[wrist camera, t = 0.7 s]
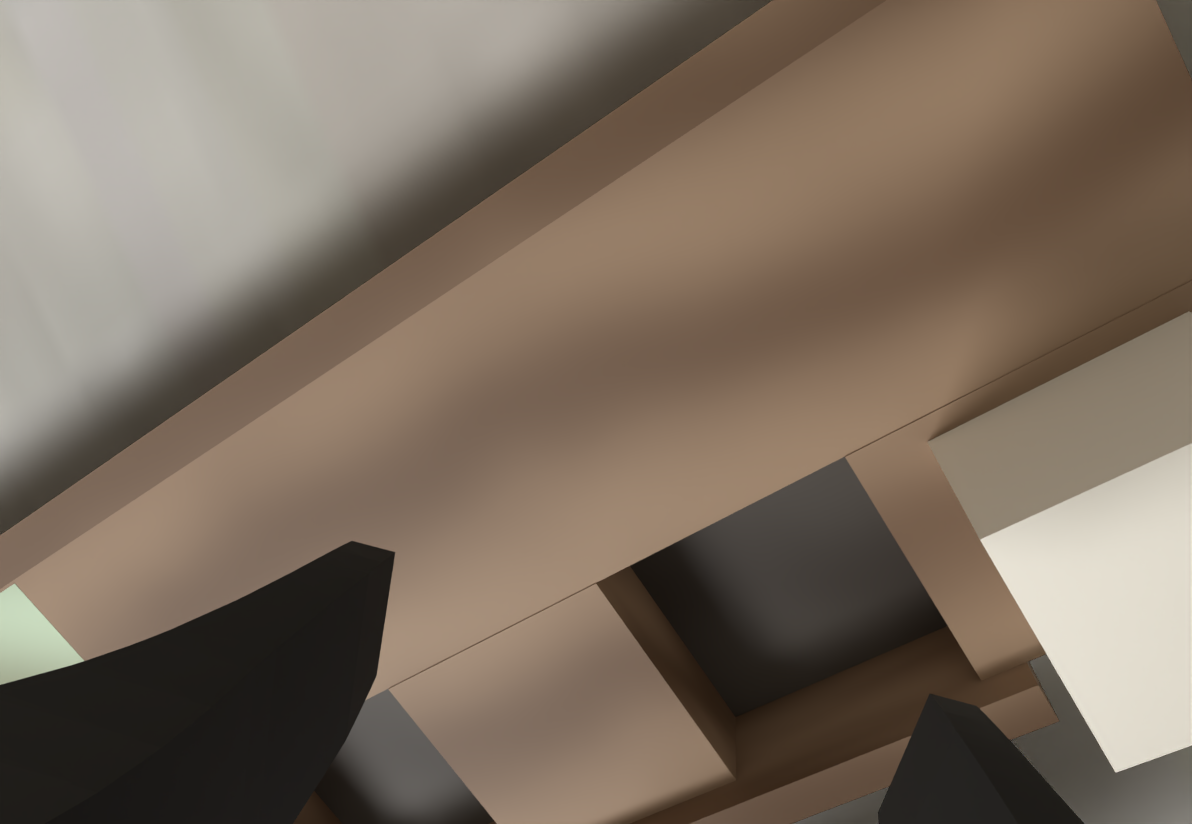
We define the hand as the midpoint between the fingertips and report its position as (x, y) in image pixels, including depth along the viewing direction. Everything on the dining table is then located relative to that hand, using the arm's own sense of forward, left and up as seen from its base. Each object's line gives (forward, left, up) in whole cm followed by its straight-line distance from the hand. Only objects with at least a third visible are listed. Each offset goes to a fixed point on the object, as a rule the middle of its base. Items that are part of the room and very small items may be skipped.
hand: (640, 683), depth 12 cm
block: (-5, -7, -7) cm, 11 cm away
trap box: (-1, +5, -10) cm, 11 cm away
